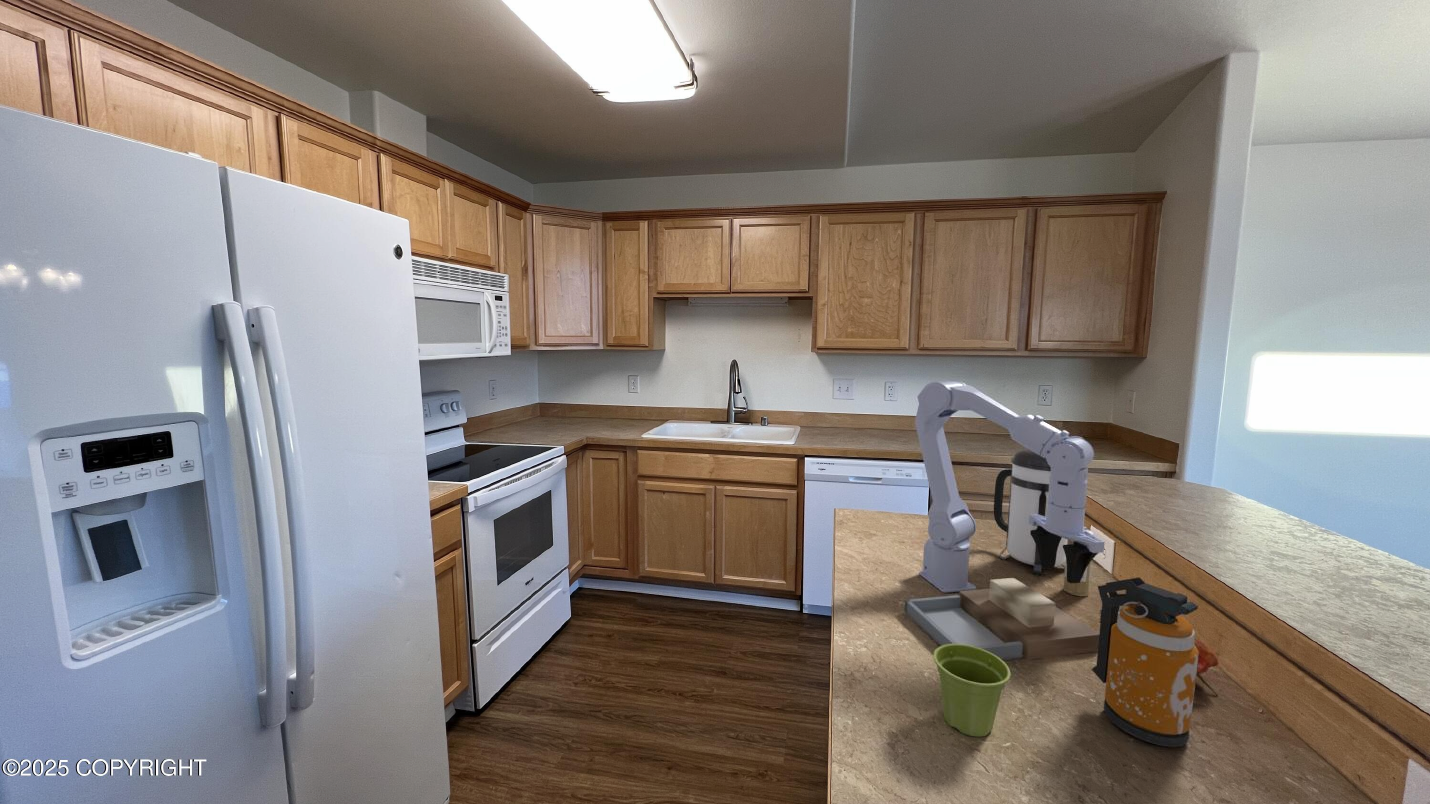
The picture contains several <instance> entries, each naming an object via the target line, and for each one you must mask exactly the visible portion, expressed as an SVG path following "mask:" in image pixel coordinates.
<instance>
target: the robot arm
mask: <svg viewBox="0 0 1430 804" xmlns="http://www.w3.org/2000/svg"><path fill="white" fill-rule="evenodd" d="M917 400H918V407H917V411H916V415H915V419H914V420H915V421H914V422H915V424H914V425H915V429H916V433H917V437H918V441H919V447H920V450H921V455H922V460H923V464H924V467H925V472H926V473H925V474H926V477H927V482H928V487H929V490H930V495H931V498H932V499H931V500H932V503H931V506H930V508H929V510H928V513H927V515H928V526H927V532H928V533H927V534H928V537H929V538H928V539H927V540H926V542H925V543H924V546H923V556H922V557H923V558H922V560H923V561H922V570H919V571H918V574H919V575H920V576H921V577H923V578H924V579H925V580H927V581H928V582H929V583H930V584H931V585H933V586H934V587H935V588H936V589H938V590H939V591H941V592H942V593H954V592H955V593H957V592H958V593H959V591H969V590H978V589H977V586H975V585H974V584H972V583H971V582H970V581H968V580H969V578H968V577H969V564H970V563H969V562H970V547H971V544H970V540H971V539H970V538H972V537H973V536H974V535H975V533H976V530H977V524H976V523H977V522H976V520H975V517H973V515H972V514H971V513H970V511H969V507H968V504H967V503H966V502H965V501H964V500H963V499H962V498H961V497H960V494H959V489H958V485H957V480H956V476H955V473H954V467H953V463H952V460H951V455H950V452H949V446H948V443H947V438H946V434H945V429H944V426H945V424H946V423H947V422H948V420H949V419H950V418H951V417H952V415H954V414H955V413H957V412H958V411H971V412H974V413H976V414H977V415H979V416H981V417H983V418H985V419H987V420H989V421H991V422H992V423H995V424H996V425H999V426H1000V427H1002V428H1004V429H1006V430H1008V432H1009V435H1010V438H1011V440H1012V441H1014V442H1015V443H1017V444H1019V445H1021V446H1023V447H1024V448H1025V449H1029V450H1031V451H1033V452H1034V453H1036V454H1038V455H1040V456H1041V457H1043V458H1046V460H1047V463H1048V464H1049V466H1050V467H1051V473H1050V480H1049V493H1048V505H1047V517H1045V516H1042V515H1039V514H1033V515H1029V524H1030V525H1032V526H1035V525H1036V526H1037V528H1036V530H1031V532H1030V534H1031V536H1032V538H1033V539H1034V541H1035V544H1036V546H1037V549H1038V553H1039V557H1040V561H1041V566H1042V567H1041V569H1043V570H1054V568H1055V567H1054V566H1055V562H1056V555H1057V549H1058V546H1059V543H1060V540H1061V538H1062V537H1063V538H1065V539H1067V540H1069V541H1072V542H1074V543H1073V544H1069V545H1063V549H1064V552H1065V555H1066V561H1067V582H1069V583H1071V584H1072V583H1080V581H1081V579H1082V576H1083V574H1084V572H1085V570H1086V568H1087V566H1088V565H1089V563H1090V562H1091V561H1093V560H1094V558H1095V557H1096V556H1097V555H1098V554H1100V553H1101V554H1102V553H1105V543H1106V542H1105V541H1104V540H1102V539H1100V538H1098V537H1096V536H1095V535H1094V536H1093V535H1092V534H1090V533H1089V532H1087V531H1086V530H1088V529H1087V527H1086V526H1084V525H1085V516H1086V515H1085V513H1086V505H1087V495H1088V474H1089V473H1088V472H1089V467H1087V466H1089V465H1090V464H1091V463H1092V461H1094V457H1095V451H1094V448H1093V447H1092V445H1091V443H1090V442H1088V441H1087V440H1085V439H1084V437H1081V436H1077V435H1073V436H1069V435H1070V432H1068V431H1067V430H1065V429H1064V430H1060V429H1058V428H1056V427H1054V426H1053V425H1050V424H1049V423H1046V422H1045V421H1044V420H1045V418H1044V416H1041V415H1039V414H1037V415H1033V414H1026V415H1019V414H1017V413H1015V412H1014V411H1012V410H1011V409H1009V408H1007V407H1006V406H1004V405H1002V404H1000V403H999V402H997V401H996V400H994V399H993V398H991V397H990V396H988V395H986V394H985V393H982V392H981V391H980V390H978V389H976V388H975V387H974V386H972V385H969V384H966V383H965V382H963V381H961V380H957V379H956V380H955V379H954V380H949V381H941V382H939V381H932V382H930V383H928V384H927V385H925V386H924V387H923V389H921V391H920V392H919V394H918V395H917ZM1066 561H1065V562H1066ZM1091 563H1092V562H1091Z"/></svg>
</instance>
